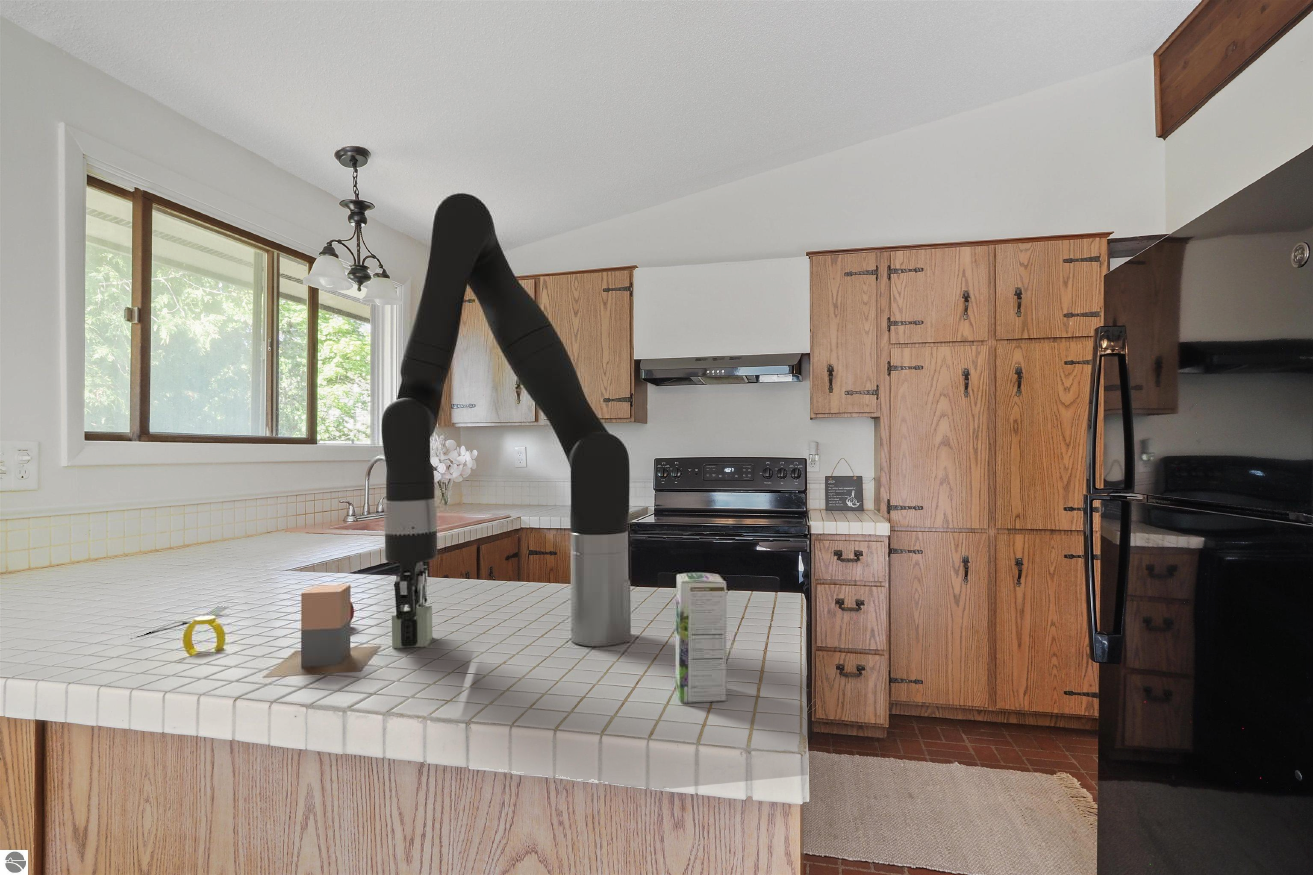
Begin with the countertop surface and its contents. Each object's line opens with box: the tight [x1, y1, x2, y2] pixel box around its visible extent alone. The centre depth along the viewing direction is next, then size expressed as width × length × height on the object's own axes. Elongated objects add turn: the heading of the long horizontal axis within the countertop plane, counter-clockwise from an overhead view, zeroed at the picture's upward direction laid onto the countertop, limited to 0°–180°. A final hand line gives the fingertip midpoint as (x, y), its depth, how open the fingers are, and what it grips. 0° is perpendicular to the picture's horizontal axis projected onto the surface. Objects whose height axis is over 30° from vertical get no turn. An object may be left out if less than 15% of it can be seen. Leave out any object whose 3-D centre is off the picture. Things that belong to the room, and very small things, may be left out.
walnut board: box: [262, 645, 382, 679], centre depth 94 cm, size 12×12×1 cm
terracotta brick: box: [300, 584, 352, 631], centre depth 94 cm, size 5×5×5 cm
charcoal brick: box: [300, 620, 351, 667], centre depth 94 cm, size 5×5×5 cm
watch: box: [182, 615, 226, 657], centre depth 100 cm, size 6×3×6 cm, turn 82°
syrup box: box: [675, 572, 727, 704], centre depth 83 cm, size 6×6×14 cm
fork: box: [141, 605, 230, 634], centre depth 116 cm, size 3×24×2 cm, turn 166°
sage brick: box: [391, 605, 433, 649], centre depth 102 cm, size 5×5×5 cm
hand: (412, 639), depth 102 cm, fingers closed on sage brick, 5 cm apart
